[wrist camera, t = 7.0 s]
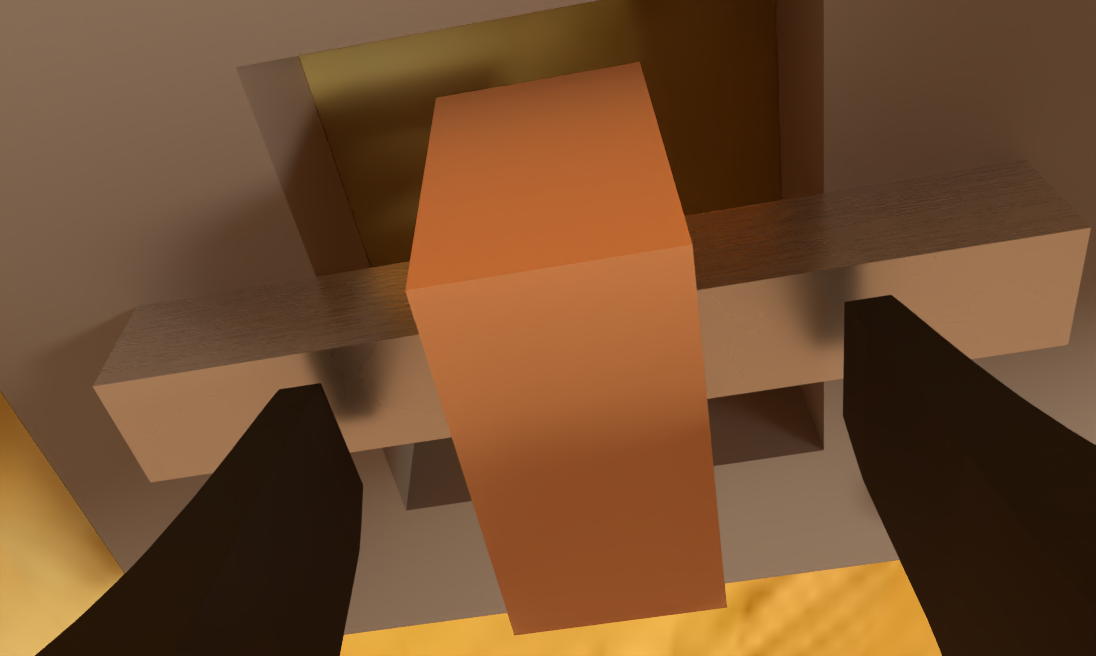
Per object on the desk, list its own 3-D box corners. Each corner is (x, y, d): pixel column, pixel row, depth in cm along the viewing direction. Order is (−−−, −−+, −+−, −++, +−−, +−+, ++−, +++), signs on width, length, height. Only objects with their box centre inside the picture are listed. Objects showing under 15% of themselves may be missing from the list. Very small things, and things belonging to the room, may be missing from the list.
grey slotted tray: (1231, -470, 12) (1580, -515, 8) (1054, 429, 22) (1177, 612, 18) (-201, -166, 14) (-491, -80, 10) (215, 549, 23) (153, 743, 19)
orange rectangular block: (639, 61, 14) (692, 244, 10) (676, 377, 17) (726, 607, 13) (435, 97, 14) (404, 290, 10) (514, 402, 17) (514, 635, 13)
